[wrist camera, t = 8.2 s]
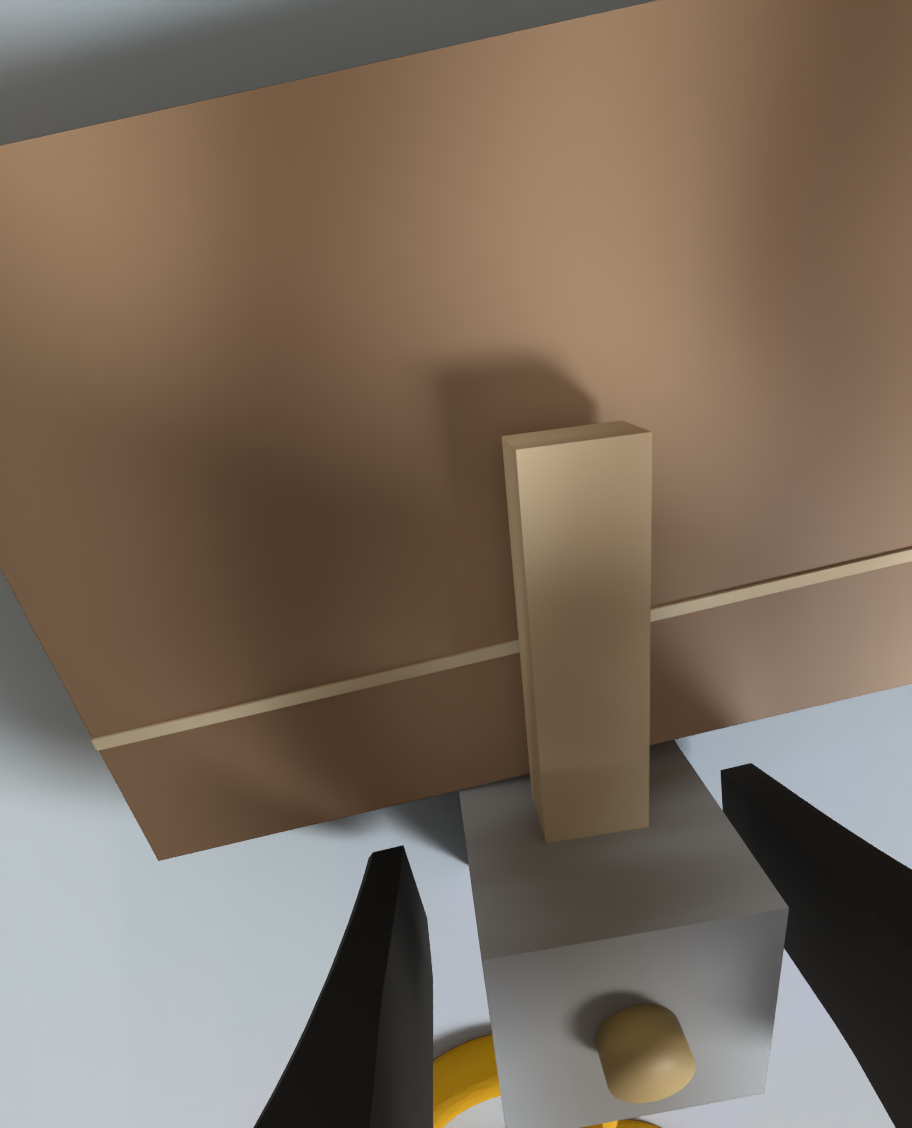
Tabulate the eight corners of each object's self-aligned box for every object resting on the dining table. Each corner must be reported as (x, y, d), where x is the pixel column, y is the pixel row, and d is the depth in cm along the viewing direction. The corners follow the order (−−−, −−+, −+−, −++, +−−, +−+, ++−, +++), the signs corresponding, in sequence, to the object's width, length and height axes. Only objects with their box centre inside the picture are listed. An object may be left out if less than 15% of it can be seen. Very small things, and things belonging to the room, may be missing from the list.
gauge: (640, 393, 10) (892, 451, 5) (640, 836, 14) (784, 1133, 9) (407, 423, 10) (417, 515, 5) (469, 864, 14) (513, 1185, 8)
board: (1576, -143, 8) (1916, -281, 7) (1338, 511, 12) (1510, 544, 10) (-68, 224, 8) (-209, 190, 6) (195, 779, 12) (157, 863, 10)
